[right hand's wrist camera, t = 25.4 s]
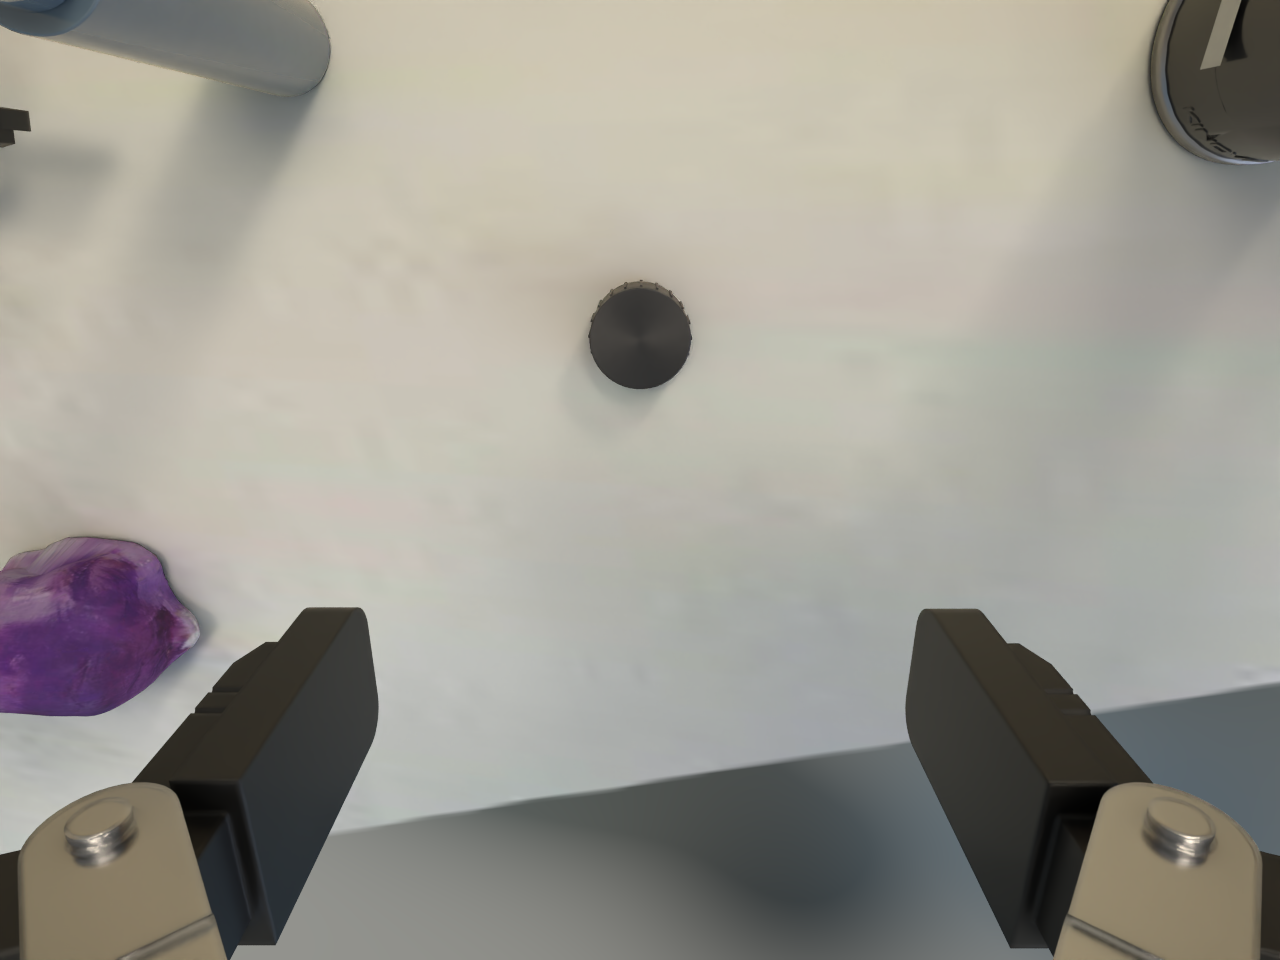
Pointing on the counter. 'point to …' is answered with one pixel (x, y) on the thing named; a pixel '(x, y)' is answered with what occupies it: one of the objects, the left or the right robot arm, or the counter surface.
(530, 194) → the counter surface
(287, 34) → the grey cylinder
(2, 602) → the figurine
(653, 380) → the lid
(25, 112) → the left robot arm
